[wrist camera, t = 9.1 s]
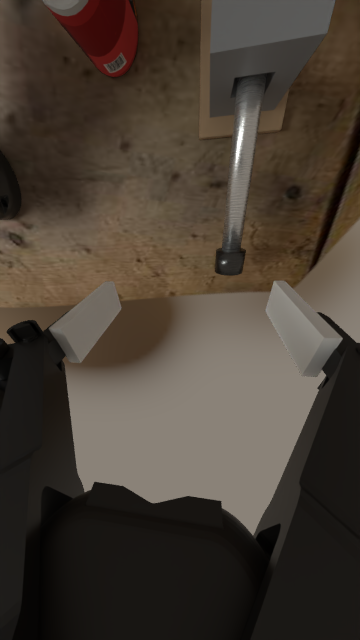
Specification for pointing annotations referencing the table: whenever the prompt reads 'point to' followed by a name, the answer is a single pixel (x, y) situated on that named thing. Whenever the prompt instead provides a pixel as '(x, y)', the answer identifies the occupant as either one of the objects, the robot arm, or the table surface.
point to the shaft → (240, 171)
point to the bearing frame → (254, 55)
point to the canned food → (101, 30)
